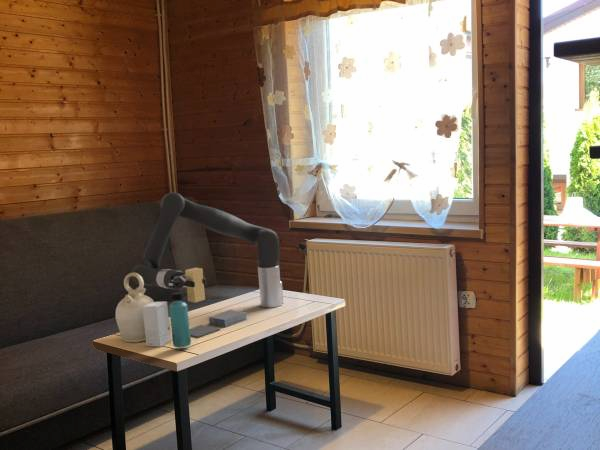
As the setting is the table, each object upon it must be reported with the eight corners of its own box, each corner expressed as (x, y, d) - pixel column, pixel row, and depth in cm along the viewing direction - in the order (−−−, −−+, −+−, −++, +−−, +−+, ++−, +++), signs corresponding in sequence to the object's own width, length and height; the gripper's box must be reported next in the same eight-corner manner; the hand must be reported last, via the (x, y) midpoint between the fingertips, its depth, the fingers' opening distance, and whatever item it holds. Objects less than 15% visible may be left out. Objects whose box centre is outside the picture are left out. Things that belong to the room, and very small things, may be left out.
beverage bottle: (195, 347, 226) (190, 291, 224) (180, 352, 221) (174, 295, 219) (184, 344, 231) (179, 289, 228) (169, 349, 226) (163, 293, 223)
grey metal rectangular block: (230, 317, 264) (230, 309, 264) (246, 319, 258) (246, 312, 258) (209, 324, 255) (208, 317, 255) (225, 327, 249) (224, 319, 249)
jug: (138, 330, 254) (132, 267, 251) (168, 333, 246) (162, 269, 243) (109, 341, 241) (102, 276, 238) (139, 345, 233) (132, 277, 230)
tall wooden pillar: (198, 298, 247) (195, 267, 245) (205, 299, 244) (202, 268, 243) (188, 301, 243) (185, 270, 242) (195, 302, 241) (192, 270, 239)
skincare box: (160, 347, 229) (156, 306, 228) (145, 346, 231) (141, 306, 229) (171, 340, 237) (168, 300, 235) (157, 339, 239) (153, 300, 237)
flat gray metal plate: (200, 326, 253) (200, 325, 253) (220, 330, 246) (220, 328, 246) (179, 334, 245) (178, 332, 245) (198, 337, 238) (198, 336, 238)
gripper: (154, 273, 246) (184, 276, 235) (184, 266, 257) (213, 269, 246) (156, 292, 247) (186, 296, 236) (185, 284, 258) (214, 288, 247)
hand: (199, 282), depth 241 cm, fingers closed on tall wooden pillar, 5 cm apart
